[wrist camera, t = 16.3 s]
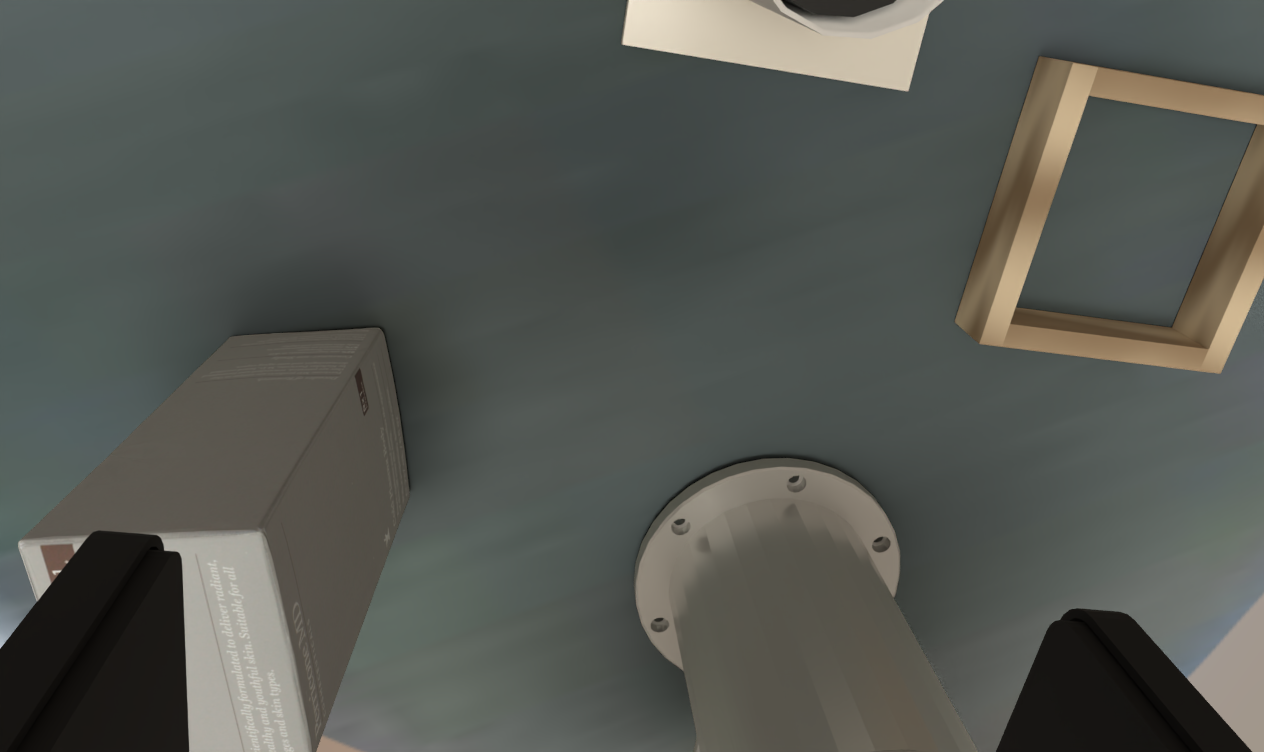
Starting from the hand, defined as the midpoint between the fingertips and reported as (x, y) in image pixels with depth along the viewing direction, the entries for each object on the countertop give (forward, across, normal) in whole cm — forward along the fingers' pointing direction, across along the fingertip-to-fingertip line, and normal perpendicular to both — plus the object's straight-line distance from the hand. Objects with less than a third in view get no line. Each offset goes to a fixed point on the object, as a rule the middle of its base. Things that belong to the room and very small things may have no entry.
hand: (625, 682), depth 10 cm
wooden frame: (+28, -23, -1) cm, 36 cm away
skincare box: (+28, +9, +12) cm, 32 cm away
